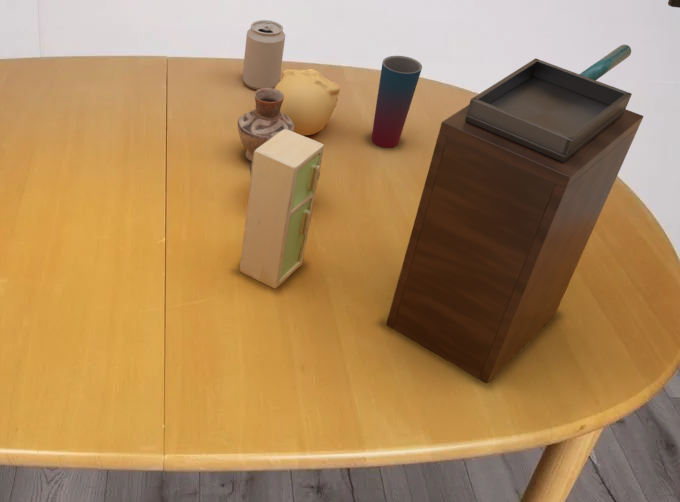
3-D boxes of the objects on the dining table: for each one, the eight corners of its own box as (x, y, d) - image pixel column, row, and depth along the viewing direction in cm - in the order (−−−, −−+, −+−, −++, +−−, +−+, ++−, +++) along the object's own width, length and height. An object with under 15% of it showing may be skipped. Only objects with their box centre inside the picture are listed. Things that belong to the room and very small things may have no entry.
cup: (398, 154, 158) (417, 76, 148) (361, 144, 160) (378, 67, 150) (407, 137, 163) (426, 61, 153) (371, 128, 165) (388, 52, 155)
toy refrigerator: (279, 292, 128) (299, 169, 114) (238, 272, 131) (252, 149, 117) (307, 266, 133) (329, 145, 118) (267, 247, 136) (284, 126, 121)
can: (237, 88, 174) (243, 29, 166) (247, 72, 179) (253, 15, 171) (274, 95, 173) (281, 36, 165) (282, 79, 178) (290, 21, 170)
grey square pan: (563, 163, 96) (572, 140, 94) (464, 120, 102) (470, 99, 100) (667, 79, 113) (676, 58, 111) (576, 47, 119) (584, 27, 117)
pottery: (285, 140, 160) (293, 80, 152) (322, 220, 142) (334, 156, 134) (224, 143, 158) (230, 82, 150) (254, 224, 140) (262, 159, 132)
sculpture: (340, 125, 165) (351, 71, 158) (308, 150, 158) (317, 95, 151) (289, 105, 170) (296, 52, 163) (255, 128, 163) (261, 74, 155)
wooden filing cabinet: (486, 383, 116) (570, 177, 94) (385, 324, 124) (441, 121, 102) (555, 314, 127) (644, 115, 105) (458, 264, 135) (522, 70, 113)
